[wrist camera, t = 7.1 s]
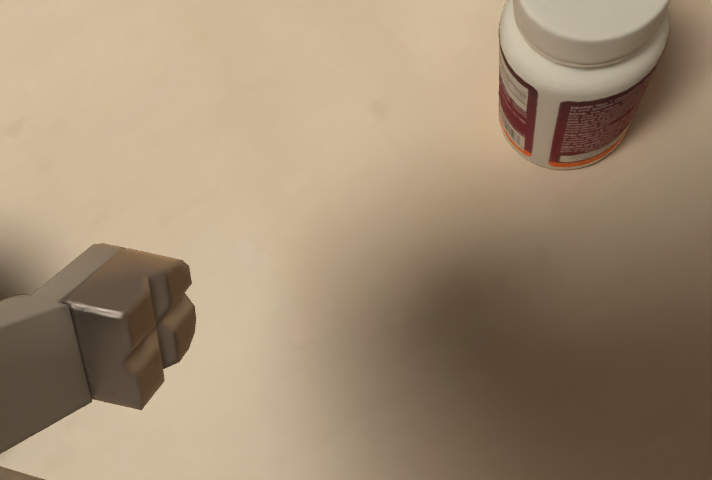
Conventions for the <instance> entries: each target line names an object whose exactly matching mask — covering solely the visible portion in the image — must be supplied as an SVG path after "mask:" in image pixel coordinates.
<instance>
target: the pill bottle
mask: <svg viewBox="0 0 712 480" xmlns="http://www.w3.org/2000/svg"><path fill="white" fill-rule="evenodd" d="M669 3H670V0H507V1H506V3H505V6H504V9H503V11H502V14H501V18H500V24H499V120H500V125H501V128H502V131H503V134H504V136H505V138H506V140H507V141H508V143H509V144H510V146H511V147H512V148H513V149H514V150H515V151H516V152H517V153H518V154H519V155H521V156H522V157H523V158H525V159H526V160H528V161H530V162H532V163H534V164H536V165H539V166H541V167H544V168H548V169H553V170H570V169H578V168H582V167H585V166H588V165H591V164H593V163H595V162H597V161H599V160H601V159H603V158H604V157H606V156H607V155H608V154H609V153H610V152H612V151H613V150H614V149H615V148H616V147H617V145H618V144H619V143H620V142H621V140H622V139H623V137H624V135H625V134H626V132H627V129H628V127H629V125H630V123H631V121H632V119H633V117H634V114H635V112H636V110H637V107H638V105H639V103H640V101H641V99H642V97H643V94H644V92H645V90H646V88H647V86H648V84H649V81H650V79H651V76H652V74H653V72H654V70H655V68H656V65H657V63H658V61H659V59H660V57H661V55H662V53H663V51H664V48H665V45H666V43H667V40H668V34H669V9H668V6H669Z"/></svg>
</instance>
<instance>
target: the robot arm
mask: <svg viewBox="0 0 712 480" xmlns="http://www.w3.org/2000/svg"><path fill="white" fill-rule="evenodd" d="M191 284H192V281H191V275H190V269H189V266H188V265H187V264H186V263H185V262H184V261H183V260H179V259H175V258H170V257H165V256H161V255H156V254H152V253H147V252H143V251H138V250H134V249H126V248H123V247H119V246H114V245H109V244H104V243H101V244H94V245H92V246H91V247H89V248H88V249H87V250H86V251H85V252H83V253H82V254H81V255H80V256H78V257H77V258H76V259H75V260H73V261H72V262H71V263H70V264H69V265H67V266H66V267H65V268H64V269H62V270H61V271H60V272H59V273H57V274H56V275H55V276H54V277H53V278H51V279H50V280H49V281H48V282H46V283H45V284H44V285H43V286H41V287H40V288H39V289H38V290H37V291H35V292H34V293H33V294H32V295H30V296H28V295H23V294H20V295H17V296H14V297H11V298H8V299H4V300H1V301H0V454H1V453H3V452H4V451H6V450H8V449H10V448H11V447H13V446H15V445H17V444H19V443H20V442H22V441H24V440H26V439H27V438H29V437H31V436H33V435H34V434H36V433H38V432H40V431H41V430H43V429H45V428H47V427H48V426H50V425H52V424H54V423H56V422H57V421H59V420H61V419H63V418H64V417H66V416H68V415H70V414H71V413H73V412H75V411H77V410H78V409H80V408H82V407H84V406H86V405H87V404H89V403H91V402H92V399H94V400H99V401H103V402H108V403H112V404H117V405H121V406H126V407H130V408H135V409H139V410H142V409H143V408H144V406H145V405H146V404H147V402H148V401H149V400H150V399H151V397H152V396H153V395H154V394H155V392H156V391H157V390H158V388H159V387H160V386H161V385H162V383H163V382H164V381H165V380H164V372H163V369H165V368H167V367H169V366H171V365H173V364H176V363H178V362H180V360H181V359H182V357H183V356H184V355H185V353H186V352H187V351H188V349H189V347H190V344H191V341H192V339H193V336H194V333H195V325H196V313H195V306H194V305H193V303H192V302H191V301H190V299H189V298H188V297H187V295H186V294H185V292H186V290H187V289H188V288H189V286H190V285H191ZM0 480H45V479H41V478H38V477H34V476H31V475H28V474H24V473H21V472H17V471H14V470H11V469H7V468H4V467H0Z"/></svg>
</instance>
